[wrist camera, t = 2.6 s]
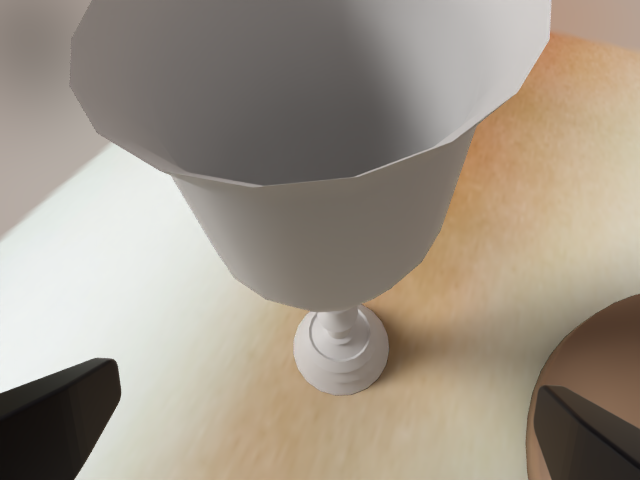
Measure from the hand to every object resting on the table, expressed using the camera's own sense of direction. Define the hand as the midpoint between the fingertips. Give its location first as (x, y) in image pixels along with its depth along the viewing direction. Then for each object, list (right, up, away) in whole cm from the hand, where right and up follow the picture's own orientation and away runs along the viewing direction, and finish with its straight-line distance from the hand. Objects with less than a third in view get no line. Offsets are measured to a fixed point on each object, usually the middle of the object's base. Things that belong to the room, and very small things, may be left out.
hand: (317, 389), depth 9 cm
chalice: (+1, -3, +13) cm, 13 cm away
